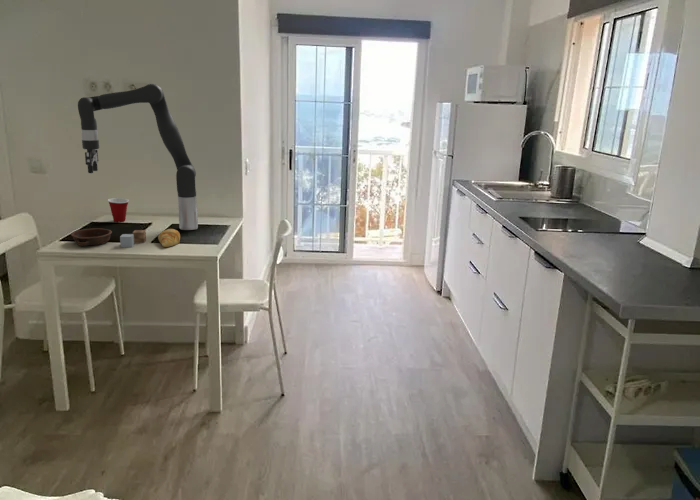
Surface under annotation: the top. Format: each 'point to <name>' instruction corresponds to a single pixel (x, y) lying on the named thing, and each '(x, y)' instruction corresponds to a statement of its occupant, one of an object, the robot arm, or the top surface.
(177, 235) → the croissant
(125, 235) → the grey block
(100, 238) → the dish
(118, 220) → the plastic cup
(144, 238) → the walnut block
